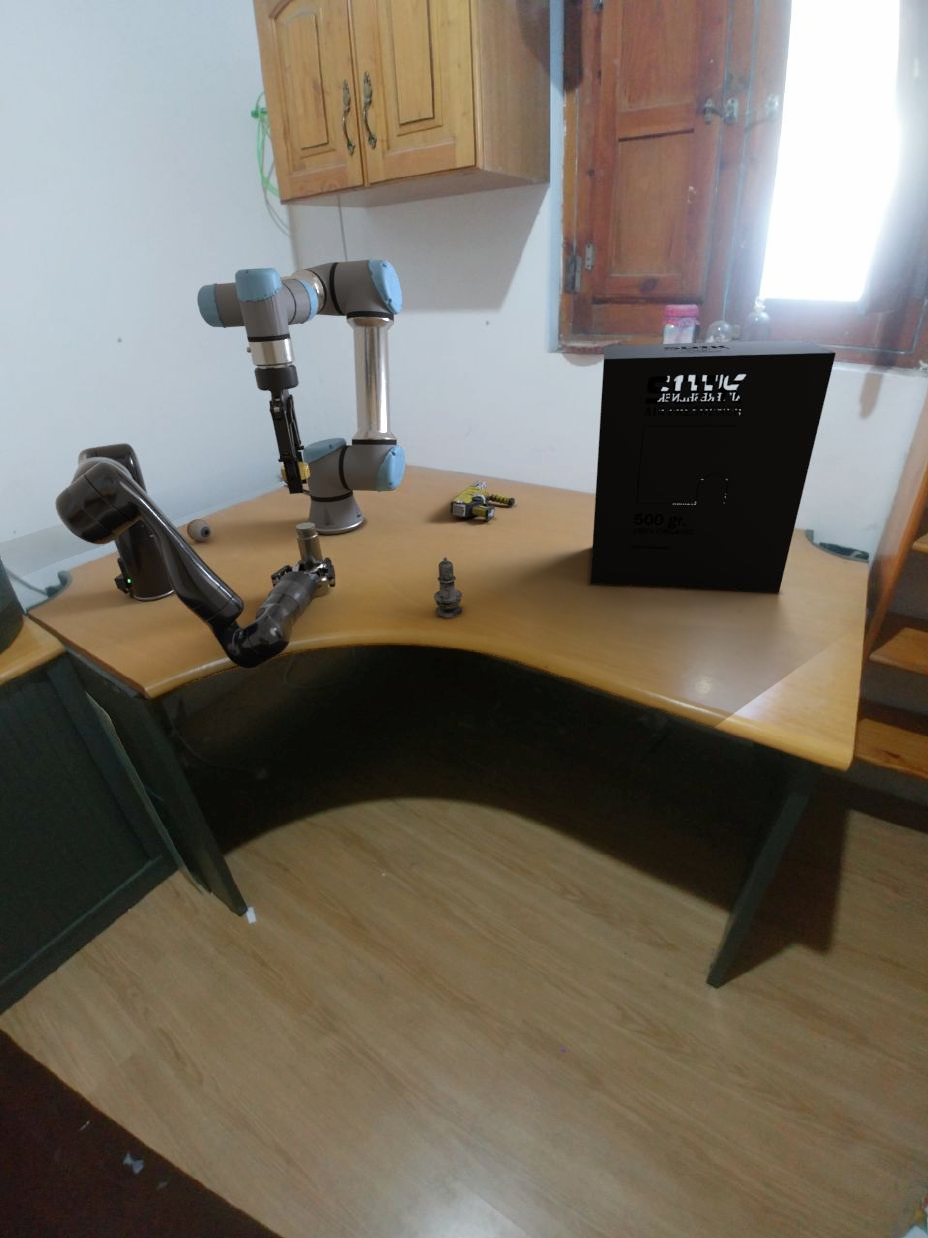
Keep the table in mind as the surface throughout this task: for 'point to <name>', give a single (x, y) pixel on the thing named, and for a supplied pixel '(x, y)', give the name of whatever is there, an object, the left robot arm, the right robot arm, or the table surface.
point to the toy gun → (477, 502)
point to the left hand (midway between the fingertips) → (317, 561)
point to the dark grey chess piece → (447, 591)
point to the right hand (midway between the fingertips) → (298, 487)
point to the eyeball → (199, 530)
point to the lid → (303, 471)
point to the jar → (310, 550)
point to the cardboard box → (704, 462)
